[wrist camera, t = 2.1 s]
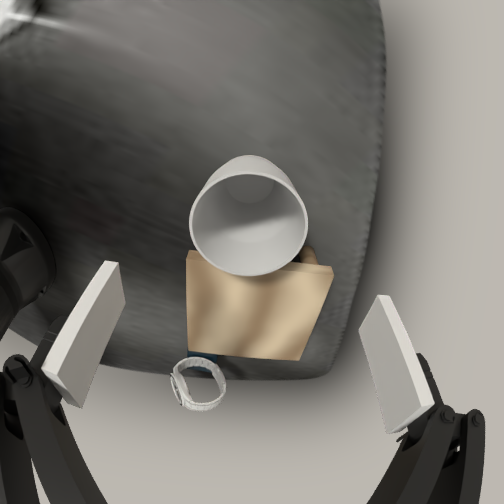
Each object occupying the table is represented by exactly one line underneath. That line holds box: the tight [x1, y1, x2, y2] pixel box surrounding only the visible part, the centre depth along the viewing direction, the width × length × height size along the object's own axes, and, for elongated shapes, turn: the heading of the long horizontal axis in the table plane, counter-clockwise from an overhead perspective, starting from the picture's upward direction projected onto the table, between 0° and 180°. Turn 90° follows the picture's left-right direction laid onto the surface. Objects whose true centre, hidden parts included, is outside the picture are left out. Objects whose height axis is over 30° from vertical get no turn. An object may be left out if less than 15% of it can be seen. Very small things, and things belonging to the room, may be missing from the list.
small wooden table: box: [186, 246, 334, 360], centre depth 32 cm, size 14×14×6 cm
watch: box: [170, 351, 227, 411], centre depth 37 cm, size 6×8×11 cm
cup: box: [189, 155, 308, 276], centre depth 23 cm, size 8×8×10 cm
